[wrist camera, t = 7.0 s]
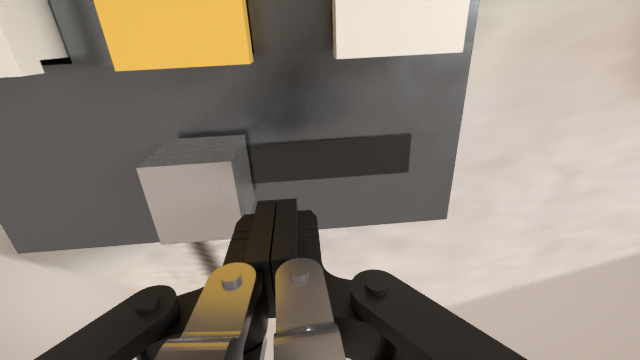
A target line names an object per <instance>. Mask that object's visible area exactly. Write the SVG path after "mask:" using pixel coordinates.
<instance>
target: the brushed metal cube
mask: <svg viewBox="0 0 640 360" xmlns="http://www.w3.org/2000/svg"><path fill="white" fill-rule="evenodd" d="M136 170H137V173H138V176H139V179H140V182H141V185H142V188H143V191H144V194H145V197H146V200H147V203H148V206H149V209H150V213H151V216H152V219H153V222H154V225H155V228H156V231H157V234H158V237H159V240H160V243H161V245H162V244H175V243H187V242H199V241H212V240H224V239H231V238H232V235H233V233H234V229H235V226H236V222H237V221H238V220H239V219H240V218H241V217H242V216H243V215H244V214H251V211H252V207H253V203H254V199H255V198H254V192H253V185H252V179H251V172H250V166H249V159H248V153H247V147H246V140H245V134H244V135H229V136H213V137H198V138H183V139H170V140H169V141H168V142H166V143H165V144H164V145H163V146H162V147H160V148H159V149H158V150H157V151H156V152H155V153H153V154H152V155H151V156H150V157H149V158H147V159H146V160H145V161H144V162H143V163H141V164H140V165H139V166H138V167H137V168H136Z"/></svg>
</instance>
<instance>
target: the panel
mask: <svg viewBox="0 0 640 360" xmlns="http://www.w3.org/2000/svg"><path fill="white" fill-rule="evenodd" d="M49 1H50V3H51V6H52V9H53V12H54V14H55V17H56V20H57V23H58V25H59V28H60V31H61V34H62V36H63V39H64V42H65V45H66V47H67V50H68V53H69V55H70V58H71V61H55V62H40V63H41V65H42V68H43V70H44V73H42V74H36V75H29V76H23V77H4V78H0V223H1V225H2V226H3V228H4V230H5V232H6V233H7V235H8V237H9V239H10V240H11V242H12V244H13V245H14V247H15V249H16V251H17V252H18V253H30V252H43V251H55V250H68V249H80V248H92V247H105V246H117V245H130V244H142V243H155V242H160V240H159V237H158V234H157V231H156V228H155V225H154V222H153V219H152V216H151V213H150V209H149V206H148V203H147V200H146V197H145V194H144V191H143V188H142V185H141V182H140V179H139V176H138V173H137V170H136V168H137V167H138V166H139V165H140V164H141V163H143V162H144V161H145V160H146V159H147V158H149V157H150V156H151V155H152V154H153V153H155V152H156V151H157V150H158V149H159V148H160V147H162V146H163V145H164V144H165V143H166V142H168V141H169V140H170V139H183V138H198V137H213V136H229V135H244V134H245V140H246V147H247V153H248V159H249V166H250V172H251V179H252V185H253V192H254V198H255V199H254V203H253V207H252V211H251V214H255V210H256V205H257V201H263V200H277V202H278V199H292V198H297V206H298V211H301V210H311V211H312V212H313V213H314V214H315V215H316V216H317V222H318V229H329V228H341V227H354V226H366V225H379V224H391V223H403V222H416V221H428V220H441V219H447V212H448V205H449V199H450V192H451V186H452V179H453V173H454V166H455V159H456V153H457V146H458V140H459V133H460V127H461V120H462V114H463V107H464V100H465V94H466V87H467V81H468V74H469V68H470V61H471V54H472V48H473V41H474V35H475V28H476V22H477V15H478V8H479V2H480V0H470V4H469V12H468V19H467V26H466V33H465V40H464V47H463V52H460V53H442V54H424V55H405V56H387V57H369V58H351V59H335V58H334V57H333V47H332V22H331V0H248V7H249V15H250V23H251V31H252V39H253V47H254V51H252V54H253V62H252V63H251V64H241V65H223V66H205V67H187V68H169V69H150V70H132V71H115V68H114V65H113V62H112V59H111V55H110V52H109V49H108V46H107V43H106V39H105V36H104V33H103V30H102V27H101V23H100V20H99V17H98V14H97V11H96V7H95V4H94V1H93V0H49Z"/></svg>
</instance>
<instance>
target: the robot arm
mask: <svg viewBox="0 0 640 360" xmlns="http://www.w3.org/2000/svg"><path fill="white" fill-rule="evenodd" d="M268 318H276V333H275V334H274V360H346V358H350V359H351V360H527V359H525V358H524V357H522V356H521V355H519V354H517V353H516V352H514V351H513V350H511V349H510V348H508V347H506V346H504V345H503V344H502V343H500V342H498V341H497V340H495V339H494V338H492V337H490V336H489V335H487V334H486V333H484V332H482V331H481V330H479V329H477V328H476V327H474V326H473V325H471V324H470V323H468V322H466V321H465V320H463V319H462V318H460V317H458V316H457V315H455V314H453V313H452V312H450V311H449V310H447V309H446V308H444V307H442V306H441V305H439V304H438V303H436V302H434V301H433V300H431V299H430V298H428V297H426V296H425V295H423V294H422V293H420V292H418V291H417V290H415V289H414V288H412V287H410V286H409V285H407V284H406V283H404V282H402V281H401V280H399V279H398V278H396V277H394V276H393V275H391V274H389V273H387V272H385V271H381V270H366V271H363V272H360V273H359V274H357V275H356V276H355V277H354V278H353V279H352V280H347V279H342V278H338V277H335V276H333V275H331V274H330V273H328V272H327V271H326V270H325V268H324V267H323V265H322V261H321V252H320V242H319V232H318V222H317V216H316V215H315V214H314V213H313V212H312V211H311V210H301V211H298V206H297V198H292V199H278V202H277V200H263V201H257V205H256V210H255V214H244V215H243V216H242V217H241V218H240V219H239V220H238V221H237V222H236V226H235V229H234V233H233V235H232V238H231V241H230V245H229V248H228V251H227V254H226V257H225V260H224V263H223V266H222V267H220V268H218V269H217V270H215V271H214V272H213V273H212V274H211V275H210V276H209V278H208V280H207V282H206V284H205V286H204V287H202V288H200V289H198V290H195V291H192V292H188V293H185V294H182V295H179V296H176V293H175V291H174V290H173V289H172V288H171V287H169V286H164V285H157V286H152V287H148V288H145V289H143V290H141V291H139V292H137V293H135V294H134V295H132V296H131V297H129V298H128V299H126V300H125V301H123V302H121V303H120V304H118V305H117V306H115V307H114V308H112V309H111V310H109V311H108V312H106V313H105V314H103V315H102V316H100V317H99V318H97V319H95V320H94V321H92V322H91V323H89V324H88V325H87V326H85V327H83V328H82V329H80V330H79V331H77V332H76V333H74V334H73V335H71V336H70V337H68V338H67V339H65V340H63V341H62V342H60V343H59V344H57V345H56V346H54V347H53V348H51V349H50V350H48V351H47V352H45V353H43V354H42V355H40V356H39V357H37V358H36V359H34V360H132V359H134V358H135V357H136V358H137V360H264V356H265V350H266V345H267V335H266V332H267V324H268ZM345 357H346V358H345Z"/></svg>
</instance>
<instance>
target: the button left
mask: <svg viewBox="0 0 640 360" xmlns="http://www.w3.org/2000/svg"><path fill="white" fill-rule="evenodd" d="M67 57H70V55H69V53H68V50H67V47H66V45H65V42H64V39H63V36H62V34H61V31H60V28H59V25H58V23H57V20H56V17H55V14H54V12H53V9H52V6H51V3H50V1H49V0H0V78H4V77H23V76H29V75H36V74H42V73H44V70H43V68H42V65H41V63H40V60H47V59H57V58H67Z"/></svg>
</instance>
